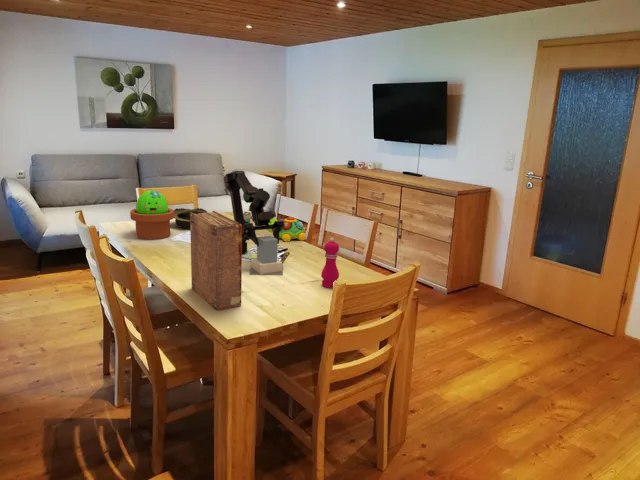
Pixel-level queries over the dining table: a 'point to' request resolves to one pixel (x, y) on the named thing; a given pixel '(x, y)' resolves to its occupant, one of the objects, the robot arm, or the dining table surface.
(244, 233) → the robot arm
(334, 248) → the pepper mill
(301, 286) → the dining table surface
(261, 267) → the base brick
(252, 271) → the baseplate
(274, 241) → the tall brick
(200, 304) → the dining table surface
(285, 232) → the turtle toy
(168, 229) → the potted cactus
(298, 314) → the dining table surface
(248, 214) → the food container
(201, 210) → the stone bowl
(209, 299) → the book
